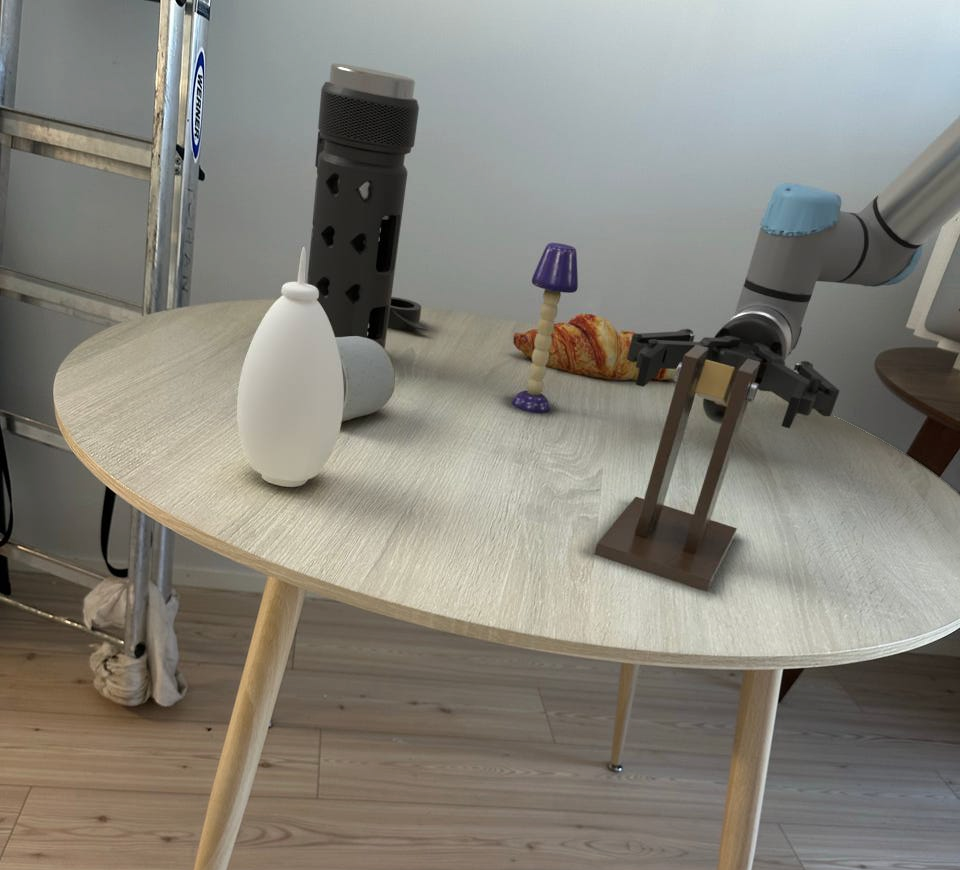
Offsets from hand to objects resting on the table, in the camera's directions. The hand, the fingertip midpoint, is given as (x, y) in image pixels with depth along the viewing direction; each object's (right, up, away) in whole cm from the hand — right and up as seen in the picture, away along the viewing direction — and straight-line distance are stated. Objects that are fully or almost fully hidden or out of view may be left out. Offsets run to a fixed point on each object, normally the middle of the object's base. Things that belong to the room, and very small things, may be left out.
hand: (715, 391), depth 91 cm
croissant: (-7, +11, +35) cm, 37 cm away
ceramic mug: (-36, -1, +5) cm, 36 cm away
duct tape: (-32, +17, +37) cm, 51 cm away
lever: (-2, -4, -10) cm, 11 cm away
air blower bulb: (-37, -10, -10) cm, 39 cm away
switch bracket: (-6, -15, -8) cm, 18 cm away
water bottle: (-37, +9, +21) cm, 43 cm away
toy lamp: (-16, +2, +18) cm, 24 cm away
